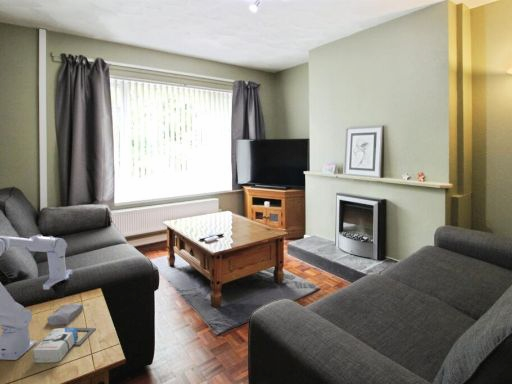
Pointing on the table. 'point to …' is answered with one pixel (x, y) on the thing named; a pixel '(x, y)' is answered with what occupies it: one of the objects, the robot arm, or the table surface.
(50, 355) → the ink box
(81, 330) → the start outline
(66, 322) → the stone block
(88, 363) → the table surface
